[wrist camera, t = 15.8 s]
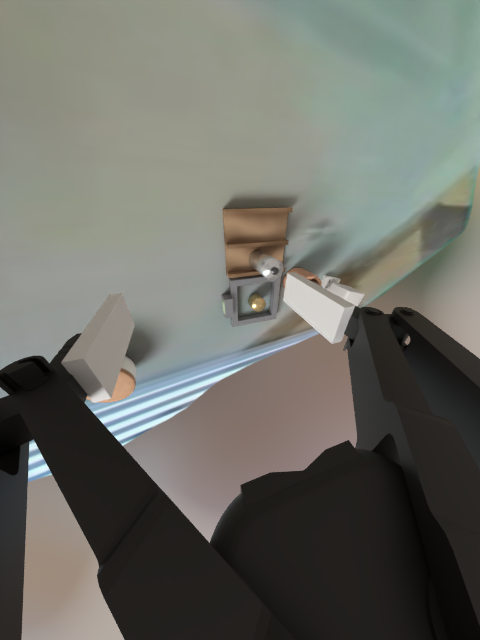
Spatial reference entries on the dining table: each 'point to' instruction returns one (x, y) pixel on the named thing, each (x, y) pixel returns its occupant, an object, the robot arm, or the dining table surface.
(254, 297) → the gold ball
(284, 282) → the octagonal tan cylinder
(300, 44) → the dining table surface
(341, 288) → the security camera
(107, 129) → the dining table surface
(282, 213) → the trough board
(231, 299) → the cradle
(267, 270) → the cell
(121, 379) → the lidded jar
